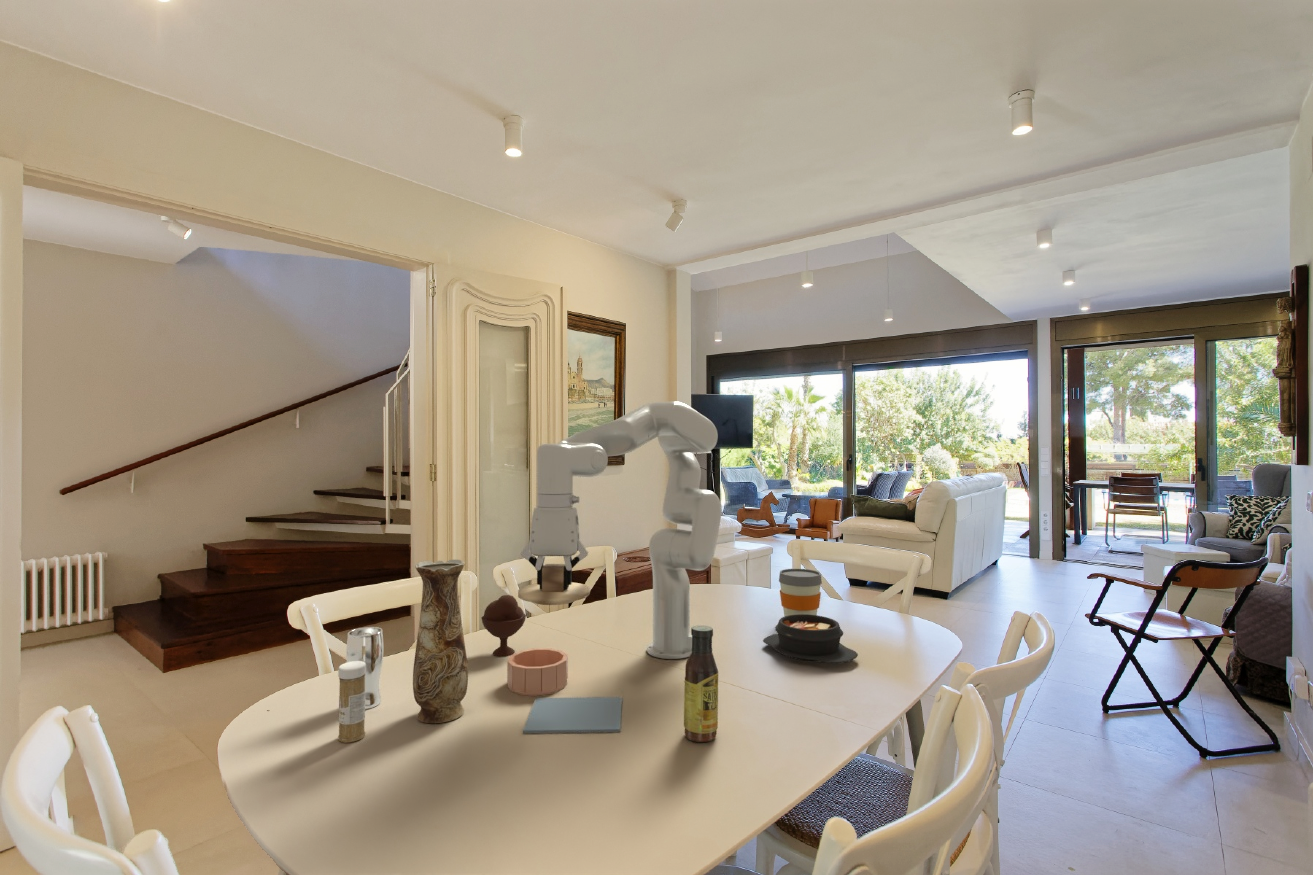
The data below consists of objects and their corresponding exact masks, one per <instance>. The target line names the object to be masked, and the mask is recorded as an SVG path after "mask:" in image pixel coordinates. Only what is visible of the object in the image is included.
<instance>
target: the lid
mask: <svg viewBox="0 0 1313 875" xmlns="http://www.w3.org/2000/svg"><path fill="white" fill-rule="evenodd" d="M543 565H544V566H543V568H542V590H540V585H537V582H536V583H533V584H532V583H531V584H528V585H525V586H522V587H520V588H519V589H518V590H517V597H518V599H520V600H521V601H525V602H530V603H533V604H536V605H542V606H556V605H557V606H559V605H567V604H571V603H574V602H576V601H580V600H583V599H586V598H587V597H589V596H590V594H591V588H590V586H588V585H586V584H584V583H580V582H579V583H578V582H573V581H572V584H571V585H569V587H568V589H567V590H565V589H564V570H565V567H566V566H565V563H545V564H543Z"/></svg>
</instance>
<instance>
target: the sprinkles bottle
mask: <svg viewBox="0 0 1313 875" xmlns="http://www.w3.org/2000/svg"><path fill="white" fill-rule="evenodd" d="M337 672H338V674H337V675H338V679H339V693H338V694H339V696H338V722H339V724H338V736H337V737H338V738H337V739H338V741H339V742H341V743H347V744H348V743H349V744H350V743H354V742H356V741H360V740H361V739H363V738H364V737H365V736H366V731H365V719H366V709H365V673H366V663H365V662H362V661H352V662H347V661H346V662H345V663H342V664H340V665H339V666H338V671H337Z"/></svg>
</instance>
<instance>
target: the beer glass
mask: <svg viewBox="0 0 1313 875" xmlns="http://www.w3.org/2000/svg"><path fill="white" fill-rule="evenodd" d="M345 652H346V663H347V662H352V661H362V662H365V663H366V673H365V710H370V709H373V708H375V707H377V706H379V705H380V704H381V702H382V698H381V697H382V696H381V692H380V679H381V673H382V666H383V661H384V660H383V659H384V636H383V628H381V627H378V626H365V627H358V628H355V629H352V630H350V631H348V632H347V641H346V651H345Z"/></svg>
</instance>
